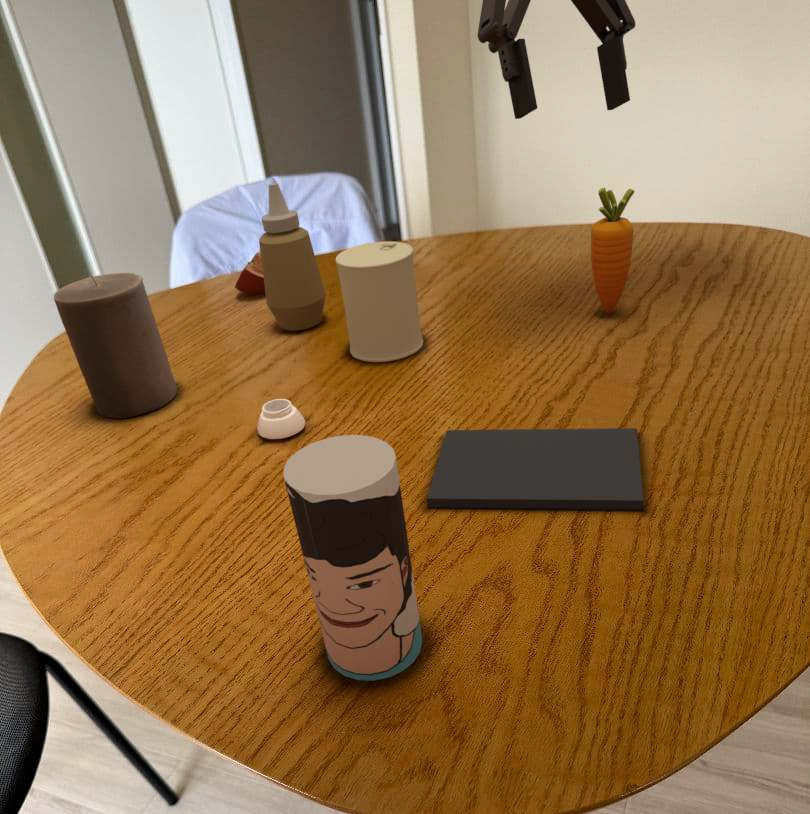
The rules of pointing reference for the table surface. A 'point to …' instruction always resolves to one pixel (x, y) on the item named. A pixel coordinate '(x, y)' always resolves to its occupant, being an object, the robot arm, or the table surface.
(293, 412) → the lidless jar
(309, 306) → the squeeze bottle
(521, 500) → the felt mat
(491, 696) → the table surface
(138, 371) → the pillar candle
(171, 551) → the table surface
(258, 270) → the fruit slice
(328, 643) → the printed cylindrical canister
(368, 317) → the can
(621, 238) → the carrot
